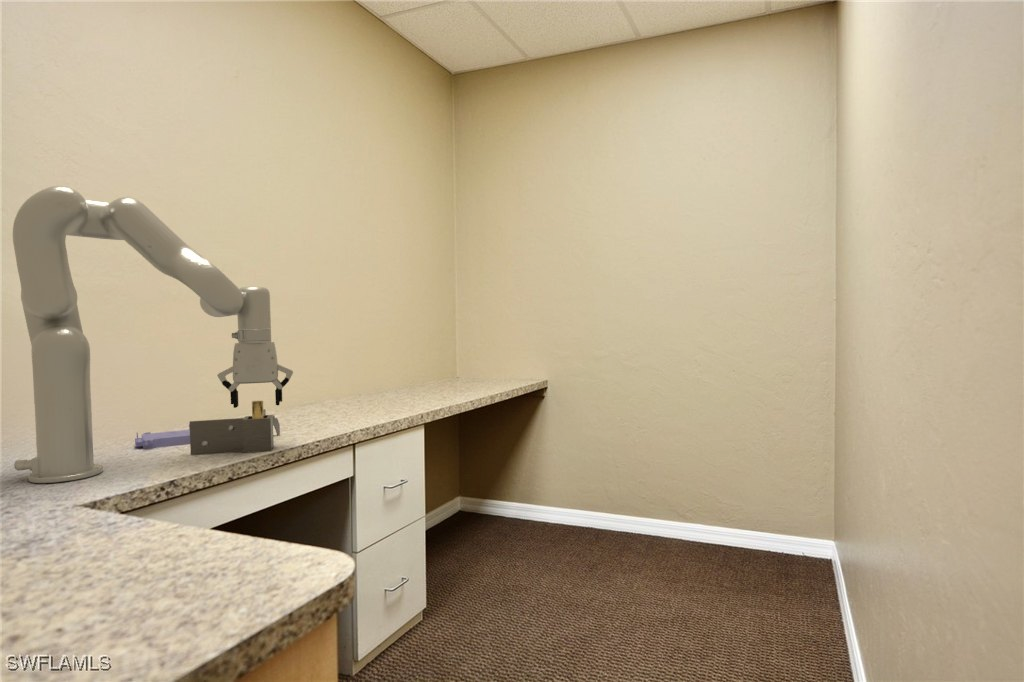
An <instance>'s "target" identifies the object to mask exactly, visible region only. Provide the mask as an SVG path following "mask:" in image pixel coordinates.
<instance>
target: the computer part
mask: <svg viewBox="0 0 1024 682" xmlns="http://www.w3.org/2000/svg"><path fill="white" fill-rule="evenodd" d="M134 443H135V447H142V450H150V449H157V448H166V447H167V448H168V447H173V446H174V447H175V446H185V445H190V423H189V424H188V429H183V430H172V431H171V430H170V431H161V432H151V431H150V432H144V433H141V437H139V434H138V432H136V438H134Z"/></svg>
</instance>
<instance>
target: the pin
mask: <svg viewBox="0 0 1024 682" xmlns="http://www.w3.org/2000/svg"><path fill="white" fill-rule="evenodd" d="M263 409H264V400H253V401H251V416H252V419H259V418H264V415H263Z"/></svg>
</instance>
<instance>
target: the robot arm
mask: <svg viewBox="0 0 1024 682" xmlns="http://www.w3.org/2000/svg"><path fill="white" fill-rule="evenodd" d="M67 236H71V237H78V238H79V237H80V238H89V239H92V238H93V239H100V240H113V241H114V240H115V241H116V240H117V241H125V242H126V243H127V244H128V245H129V246H130V247H132V248H133V250H135V251H136V252H137V253H138V254H139V255H141V256H142V257H143V258H144V259H145V260H146V261H147V262H148V263H149V264H151V266H152V267H154V268H155V269H156V270H157V271H159V272H161V273H162V274H164V275H165V276H169V277H170V278H173V279H176V281H179V282H180V283H182V284H183V285H185V286H186V287H187V288H189V289H190V290H191V291H192V292H193V293H194V294H196V295H197V296H198V297H199V298H200V299H199V304H200V308H201V310H202V311H203V312H204V313H205V314H207V315H208V316H211V317H215V318H223V317H230V316H237V331H235V332H232V333H231V339H235V340H237V341H238V342H236V343H234V346H233V351H232V352H233V353H232V355H233V357H232V366H231V367H228V368H227V369H225V370H222V371H220V372H219V373H218V374H217V378H218V380H219V381H220V382H221V384H222V386H223V387H225V388H226V389H227V390H228V392H229V393H230V405H233V409H236V408H238V407H239V391H238V390H237V389H238V386H239V385H240V384H241V385H242V384H263V383H264V384H265V383H267V384H268V383H272V384H273V385H274V387H276V389H275V392H274V393H275V394H274V395H275V406H280V403H281V402H283V388H284V387H285V386H286V385H287V384H288V383H289V382H290V379H291V378H292V376H293V374H294V371H293V369H290V368H287V367H285V366H283V365H281V364H278V356H277V350H276V344H275V342H274V341H272V325H271V323H272V321H271V295H270V290H269V289H268V288H267V287H262V286H244V287H238V286H237V285H236V284H235V283H234V281H232V279H230V278H229V277H228V276H227V275H226V274H225V273H223V271H221V270H220V269H219V268H218V267H217V266H216V265H214V264H213V263H212V262H211V261H210V260H208V259H206V257H204V256H203V255H201V254H200V253H199V252H197V251H196V250H195V249H193V248H192V247H191V246H190V245H188V244H187V243H186V242H185V241H184V240H183V239H182V238H180V236H178V235H177V234H176V233H175V232H174V231H173V230H172V229H170V227H169V226H168V225H167V224H165V222H163V221H162V220H161V219H160V218H159V217H158V216H157V215H156V214H155V213H154V212H153V211H152V210H150V209H149V208H148V207H147V205H145V204H144V203H143V202H141V201H140V200H138V199H136V198H133V197H129V196H125V197H123V196H122V197H119V198H115V199H114V200H113V201H111V202H107V201H97V200H89V199H85V197H84V196H83V195H82V194H81V193H80V192H78V190H75V189H74V188H71V187H70V186H63V185H54V186H49V187H46V188H44V189H41V190H39V191H38V192H36V193H34V194H32V195H31V196H30V197H28V199H26V200H25V201H24V202H23V203H22V205H21V206H20V208H19V209H18V211H17V213H16V215H15V218H14V221H13V225H12V242H13V249H14V255H15V256H14V257H15V259H16V267H17V273H18V276H19V282H20V301H21V305H22V308H23V314H24V317H25V318H24V319H25V323H26V327H27V331H28V332H27V333H28V336H29V340H30V345H31V365H32V381H33V384H32V385H33V400H34V402H33V403H34V417H35V419H34V420H35V438H36V439H35V440H36V442H35V443H36V456H35V457H32V458H31V459H20V460H19V459H18V460H15V461H14V466H13V467H14V469H15V470H16V471H27V470H29V471H31V473H29V474H28V476H27V478H28V482H30V483H33V484H47V483H48V484H51V483H62V482H68V481H69V482H71V481H74V480H75V481H77V480H81V479H86V478H90V477H93V476H96V475H99V474H101V473H102V472H103V471H104V466H103V465H102V464H100V463H99V464H98V463H94V462H95V461H94V439H93V417H92V398H91V396H92V395H91V394H92V393H91V347H90V343H89V340H88V338H87V337H86V335H85V334H84V332H83V327H82V323H81V317H80V312H79V311H80V310H79V307H78V293H77V290H76V287H75V285H74V282H73V278H72V274H71V268H70V264H69V258H68V257H69V255H68V251H67V246H66V244H67V243H66V240H67V239H66V237H67ZM279 372H281V373H284V374H285V377H284V379H282V381H280V380H279V379H278V378H279ZM229 374H232V380H233V383H231V382H230V381H229V380H227V377H226V376H229Z"/></svg>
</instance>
